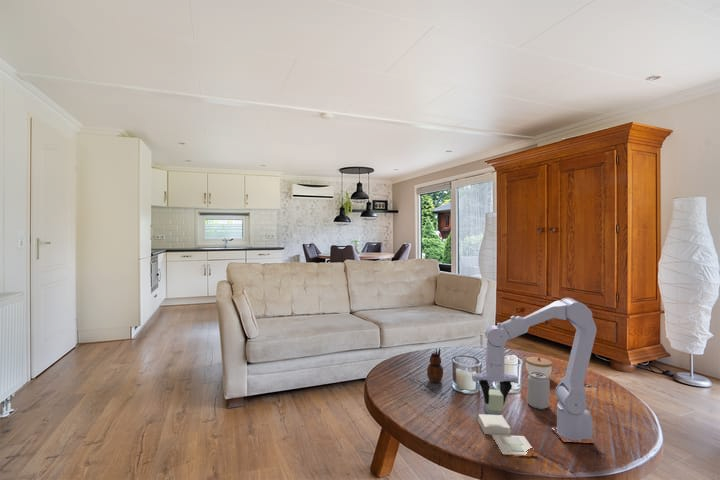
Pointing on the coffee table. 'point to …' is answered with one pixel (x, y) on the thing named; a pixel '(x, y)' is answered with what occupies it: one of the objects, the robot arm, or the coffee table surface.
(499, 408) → the sage block
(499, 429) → the white square slab
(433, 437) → the coffee table surface
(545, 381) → the can
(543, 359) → the lidded jar
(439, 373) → the wooden figurine
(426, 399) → the coffee table surface
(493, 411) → the slate block
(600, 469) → the coffee table surface
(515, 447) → the tile
